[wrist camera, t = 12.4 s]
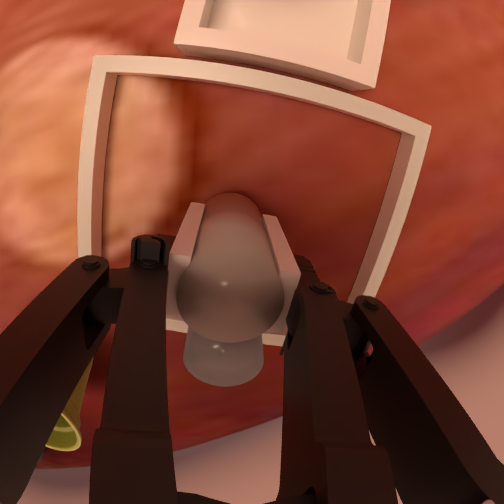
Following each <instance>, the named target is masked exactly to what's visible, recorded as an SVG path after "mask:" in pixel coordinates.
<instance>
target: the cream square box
mask: <svg viewBox="0 0 504 504" xmlns="http://www.w3.org/2000/svg"><path fill="white" fill-rule="evenodd" d="M390 2H391V0H185V2H184V6H183V10H182V13H181V17H180V21H179V24H178V28H177V32H176V36H175V40H174V44H175V45H176V46H177V47H178V48H179V49H180V51H181V52H182V53H183V54H184V55H185V56H193V57H201V58H209V59H217V60H223V61H230V62H236V63H242V64H247V65H252V66H258V67H263V68H267V69H272V70H276V71H281V72H285V73H289V74H293V75H297V76H301V77H305V78H309V79H313V80H316V81H320V82H323V83H327V84H330V85H333V86H337V87H340V88H343V89H346V90H349V91H358V90H365V89H373V88H375V86H376V81H377V76H378V71H379V66H380V61H381V56H382V51H383V45H384V40H385V34H386V28H387V22H388V16H389V9H390Z"/></svg>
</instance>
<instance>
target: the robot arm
mask: <svg viewBox="0 0 504 504" xmlns="http://www.w3.org/2000/svg"><path fill="white" fill-rule="evenodd" d="M204 209H205V204H201V203H195V202H191V204H190V206H189V208H188V211H187V213H186V215H185V217H184V220H183V222H182V224H181V227H180V229H179V231H178V234H177V236H169V235H163V234H158V235H140V236H137V237H134V238H133V239H132V243H131V263H130V267H128V268H121V269H109V263H108V261H107V260H106V259H105V258H103V257H100V256H95V255H86V256H83V257H80V258H78V259H76V260H75V261H74V262H73V263H72V264H70V265H69V266H68V267H67V268H66V269H65V270H64V271H63V272H62V273H61V274H60V275H59V276H57V277H56V278H55V279H54V280H53V281H52V282H51V283H50V284H49V285H48V286H47V287H46V288H45V289H44V290H43V291H42V292H41V293H40V294H39V295H38V296H37V297H36V298H35V299H34V300H33V301H32V302H31V303H30V304H29V305H28V306H27V307H26V308H25V309H24V310H23V311H22V312H21V313H20V314H19V315H18V316H17V317H16V318H15V319H14V320H13V322H12V323H11V324H10V325H9V326H8V327H7V328H6V329H5V330H4V331H3V332H2V333H1V335H0V504H16V503H17V502H18V500H19V499H20V498H21V496H22V494H23V492H24V490H25V488H26V486H27V484H28V482H29V480H30V477H31V475H32V473H33V471H34V469H35V467H36V464H37V463H38V462H39V461H40V460H41V459H42V458H43V456H44V454H45V452H46V449H47V447H46V446H45V445H46V443H47V441H48V439H49V437H50V435H51V433H52V431H53V429H54V427H55V425H56V423H57V421H58V419H59V418H60V416H61V414H62V412H63V410H64V408H65V406H66V404H67V402H68V400H69V399H70V397H71V395H72V393H73V391H74V389H75V388H76V386H77V384H78V382H79V380H80V379H81V377H82V375H83V373H84V372H85V370H86V368H87V366H88V365H89V363H90V361H91V359H92V358H93V356H94V354H95V353H96V351H97V349H98V347H99V346H100V344H101V342H102V341H103V339H104V337H105V336H106V334H107V333H108V331H109V329H110V326H111V324H116V329H115V334H114V339H113V344H112V350H111V356H110V362H109V368H108V374H107V381H106V388H105V395H104V403H103V411H102V420H101V426H100V429H96V431H95V433H94V438H93V445H92V457H91V471H90V490H89V504H229V503H225V502H221V501H218V500H214V499H211V498H207V497H204V496H201V495H198V494H193V493H184V492H177V490H176V480H175V471H174V462H173V451H172V440H171V435H170V431H169V417H168V399H167V372H166V318H169V319H175V320H181V321H184V320H183V319H182V317H181V315H180V313H179V310H178V307H177V302H176V292H177V287H178V283H179V280H180V278H181V276H182V274H183V272H184V271H185V269H186V268H187V267H188V266H189V265H190V263H191V259H192V255H193V251H194V247H195V243H196V239H197V235H198V231H199V227H200V224H201V220H202V216H203V212H204ZM262 221H263V224H264V227H265V231H266V234H267V237H268V241H269V244H270V247H271V251H272V254H273V257H274V261H275V264H276V268H277V271H278V274H279V277H280V280H281V282H282V286H283V290H284V305H283V309H282V311H281V314H280V316H279V318H278V319H277V321H276V322H275V323H274V324H273V325H272V326H271V328H269V329H268V330H267V331H266V332H270V333H280V334H282V333H283V330H284V327H285V324H287V328H288V331H287V334H286V337H285V340H284V343H283V346H282V349H281V352H280V355H282V354H283V352H284V392H283V424H282V451H281V471H280V487H279V493H278V496H277V498H276V501H273V502H269V503H265V504H398V500H397V495H396V489H397V492H398V494H399V496H400V499H401V501H402V503H403V504H504V465H503V464H502V463H501V462H500V461H499V460H498V459H497V458H496V456H495V455H494V453H493V452H492V450H491V448H490V447H489V445H488V444H487V442H486V441H485V439H484V438H483V436H482V435H481V433H480V432H479V430H478V429H477V427H476V426H475V424H474V423H473V421H472V420H471V418H470V417H469V416H468V414H467V413H466V411H465V410H464V408H463V407H462V406H461V404H460V403H459V401H458V400H457V398H456V397H455V396H454V394H453V393H452V391H451V390H450V389H449V387H448V386H447V385H446V383H445V382H444V380H443V379H442V378H441V376H440V375H439V374H438V372H437V371H436V370H435V368H434V367H433V366H432V365H431V363H430V362H429V361H428V359H427V358H426V357H425V355H424V354H423V353H422V351H421V350H420V349H419V347H418V346H417V345H416V344H415V342H414V341H413V340H412V338H411V337H410V336H409V335H408V333H407V332H406V331H405V330H404V328H403V327H402V326H401V325H400V323H399V322H398V321H397V320H396V318H395V317H394V316H393V315H392V314H391V312H390V311H389V310H388V309H387V307H386V306H385V305H384V304H383V303H382V302H381V301H379V300H377V299H376V298H375V297H372V296H366V295H359V296H357V297H356V299H355V301H354V304H351V303H347V302H344V301H341V300H338V299H337V295H336V292H335V291H334V289H333V288H332V287H330V286H329V285H327V284H325V283H323V282H320V280H319V278H318V276H317V274H316V273H315V270H314V268H313V266H312V264H311V262H310V261H309V260H307V259H306V258H305V257H304V256H298V255H293V253H292V251H291V249H290V246H289V244H288V242H287V240H286V237H285V235H284V233H283V230H282V228H281V226H280V223H279V221H278V219H277V217H276V216H271V215H266V214H263V215H262ZM370 344H372V346H373V352H372V354H371V355H369V354H368V352H367V350H368V348H369V346H370ZM369 431H370V433H371V435H372V438H373V439H374V442H375V444H376V446H374V445H373V444H372V443H371V439H370V435H369ZM395 487H396V489H395Z"/></svg>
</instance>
